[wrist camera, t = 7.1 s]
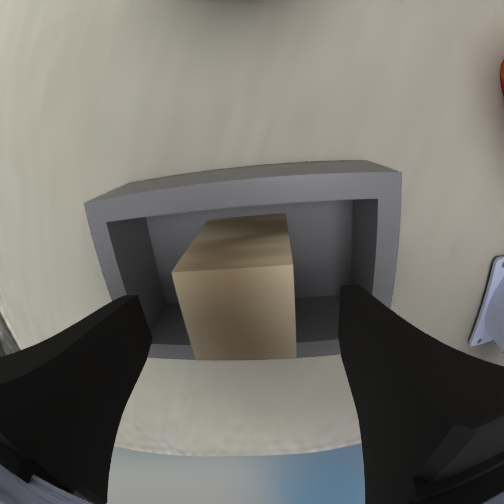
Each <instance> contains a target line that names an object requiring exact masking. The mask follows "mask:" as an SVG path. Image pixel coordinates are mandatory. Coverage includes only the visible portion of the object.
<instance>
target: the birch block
mask: <svg viewBox="0 0 504 504" xmlns="http://www.w3.org/2000/svg"><path fill="white" fill-rule="evenodd" d="M171 273H172V277H173V281H174V285H175V289H176V293H177V297H178V301H179V304H180V308H181V312H182V315H183V319H184V322H185V326H186V329H187V333H188V336H189V339H190V343H191V346H192V349H193V352H194V356H195V359H196V360H263V359H284V358H297V356H296V321H295V295H294V274H293V261H292V254H291V246H290V239H289V232H288V225H287V219H286V213H278V214H265V215H253V216H242V217H231V218H220V219H210V220H208V221H207V222H206V223H205V225H204V226H203V227H202V229H201V230H200V232H199V233H198V234H197V236H196V237H195V239H194V240H193V242H192V243H191V244H190V246H189V247H188V249H187V250H186V252H185V253H184V254H183V256H182V257H181V259H180V260H179V262H178V263H177V265H176V266H175V268H174V269H173V271H172V272H171Z"/></svg>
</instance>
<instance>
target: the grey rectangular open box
mask: <svg viewBox="0 0 504 504" xmlns="http://www.w3.org/2000/svg"><path fill="white" fill-rule="evenodd" d="M401 188H402V172H399V171H396V170H394V169H391V168H388V167H385V166H382V165H379V164H376V163H373V162H370V161H367V160H345V161H315V162H296V163H281V164H268V165H256V166H246V167H236V168H227V169H218V170H210V171H202V172H194V173H187V174H180V175H174V176H167V177H161V178H155V179H149V180H144V181H138V182H133V183H128V184H126V185H123V186H121V187H118V188H116V189H114V190H112V191H109V192H107V193H105V194H103V195H100V196H98V197H96V198H94V199H92V200H90V201H87V202H85V203H84V206H85V211H86V215H87V219H88V223H89V227H90V231H91V235H92V239H93V242H94V246H95V249H96V253H97V256H98V260H99V263H100V266H101V269H102V273H103V276H104V279H105V282H106V285H107V288H108V291H109V294H110V296H111V299H112V301H114V300H116V299H117V298H120V297H122V296H124V295H138V297H139V300H140V303H141V306H142V309H143V312H144V315H145V318H146V321H147V324H148V327H149V329H150V332H151V335H152V338H153V340H152V343H151V347H150V350H149V353H148V357H150V358H166V359H187V360H196V359H195V356H194V352H193V349H192V346H191V343H190V339H189V336H188V333H187V329H186V326H185V322H184V319H183V315H182V312H181V308H180V304H179V301H178V297H177V293H176V289H175V285H174V281H173V277H172V273H171V272H172V271H173V269H174V268H175V266H176V265H177V263H178V262H179V260H180V259H181V257H182V256H183V254H184V253H185V252H186V250H187V249H188V247H189V246H190V244H191V243H192V242H193V240H194V239H195V237H196V236H197V234H198V233H199V232H200V230H201V229H202V227H203V226H204V225H205V223H206V222H207V221H208V220H210V219H220V218H231V217H242V216H253V215H265V214H278V213H286V219H287V225H288V232H289V239H290V246H291V254H292V261H293V274H294V295H295V321H296V356H297V358H302V357H315V356H326V355H336V354H341V351H340V345H339V339H338V323H339V308H340V291H341V286H344V285H356V284H358V285H360V286H361V287H363V288H364V289H365V290H367V291H368V292H369V293H370V294H372V295H373V296H374V297H375V298H377V299H378V300H379V301H380V302H382V303H383V304H384V305H385V306H387V307H388V308H389V309H390V307H391V301H392V294H393V287H394V280H395V272H396V264H397V255H398V244H399V232H400V216H401ZM284 359H286V358H284ZM263 360H265V359H263Z"/></svg>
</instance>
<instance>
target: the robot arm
mask: <svg viewBox="0 0 504 504" xmlns="http://www.w3.org/2000/svg"><path fill="white" fill-rule="evenodd" d="M502 263H503V264H502ZM338 339H339V345H340V351H341V357H342V361H343V364H344V368H345V371H346V375H347V378H348V381H349V385H350V388H351V392H352V395H353V399H354V402H355V406H356V410H357V414H358V419H359V425H360V433H361V441H362V450H363V460H364V475H365V504H504V367H503V366H500V365H496V364H493V363H490V362H487V361H484V360H481V359H478V358H476V357H473V356H470V355H468V354H466V353H463V352H461V351H459V350H456V349H454V348H452V347H450V346H448V345H446V344H444V343H442V342H440V341H438V340H436V339H435V338H433V337H431V336H429V335H427V334H426V333H424V332H422V331H421V330H419V329H418V328H416V327H415V326H413V325H412V324H410V323H409V322H407V321H406V320H404V319H403V318H401V317H400V316H399V315H397V314H396V313H395V312H393V311H392V310H391V309H389V308H388V307H387V306H385V305H384V304H383V303H382V302H380V301H379V300H378V299H377V298H375V297H374V296H373V295H372V294H370V293H369V292H368V291H367V290H365V289H364V288H363V287H361V286H360V285H358V284H356V285H344V286H341V291H340V308H339V323H338ZM152 340H153V338H152V335H151V332H150V329H149V327H148V324H147V321H146V318H145V315H144V312H143V309H142V306H141V303H140V300H139V297H138V295H124V296H122V297H120V298H117V299H116V300H114V301H112V302H110V303H108V304H107V305H105V306H103V307H102V308H100V309H98V310H97V311H95V312H93V313H92V314H90V315H89V316H87V317H85V318H84V319H82V320H81V321H79V322H77V323H75V324H74V325H72V326H70V327H69V328H67V329H65V330H63V331H62V332H60V333H58V334H56V335H54V336H53V337H51V338H49V339H47V340H44V341H42V342H40V343H38V344H36V345H34V346H31V347H28V348H26V349H23V350H21V351H18V352H15V353H13V354H9V355H6V356H3V357H0V504H106V503H107V492H108V478H109V470H110V463H111V457H112V451H113V447H114V443H115V438H116V434H117V431H118V427H119V424H120V420H121V417H122V414H123V411H124V409H125V406H126V404H127V401H128V399H129V397H130V395H131V393H132V390H133V388H134V386H135V384H136V382H137V380H138V378H139V375H140V373H141V371H142V369H143V367H144V364H145V362H146V360H147V357H148V353H149V350H150V347H151V343H152ZM493 340H494V341H495V342H496V344H497V345H498V346H499V347H500V349H501V350H502V352H503V353H504V256H501V257H497V258H496V259H495V260H494V262H493V266H492V270H491V274H490V278H489V282H488V286H487V290H486V293H485V297H484V300H483V303H482V307H481V310H480V313H479V316H478V319H477V322H476V325H475V327H474V330H473V333H472V335H471V338H470V341H469V344H470V345H471V346H472V347H473V346H477V345H480V344H483V343H487V342H490V341H493ZM63 490H64V491H63ZM65 491H66V492H65ZM67 492H68V493H67ZM69 493H70V494H69ZM71 494H72V495H71ZM73 495H74V496H73ZM78 497H79V498H78ZM80 498H81V499H80ZM82 499H83V500H82ZM87 501H88V502H87ZM89 502H90V503H89Z"/></svg>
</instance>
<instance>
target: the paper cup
mask: <svg viewBox="0 0 504 504" xmlns="http://www.w3.org/2000/svg"><path fill="white" fill-rule="evenodd" d="M500 76H501V86H502V91H503V95H504V61H503V63H502V66H501V74H500Z"/></svg>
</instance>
